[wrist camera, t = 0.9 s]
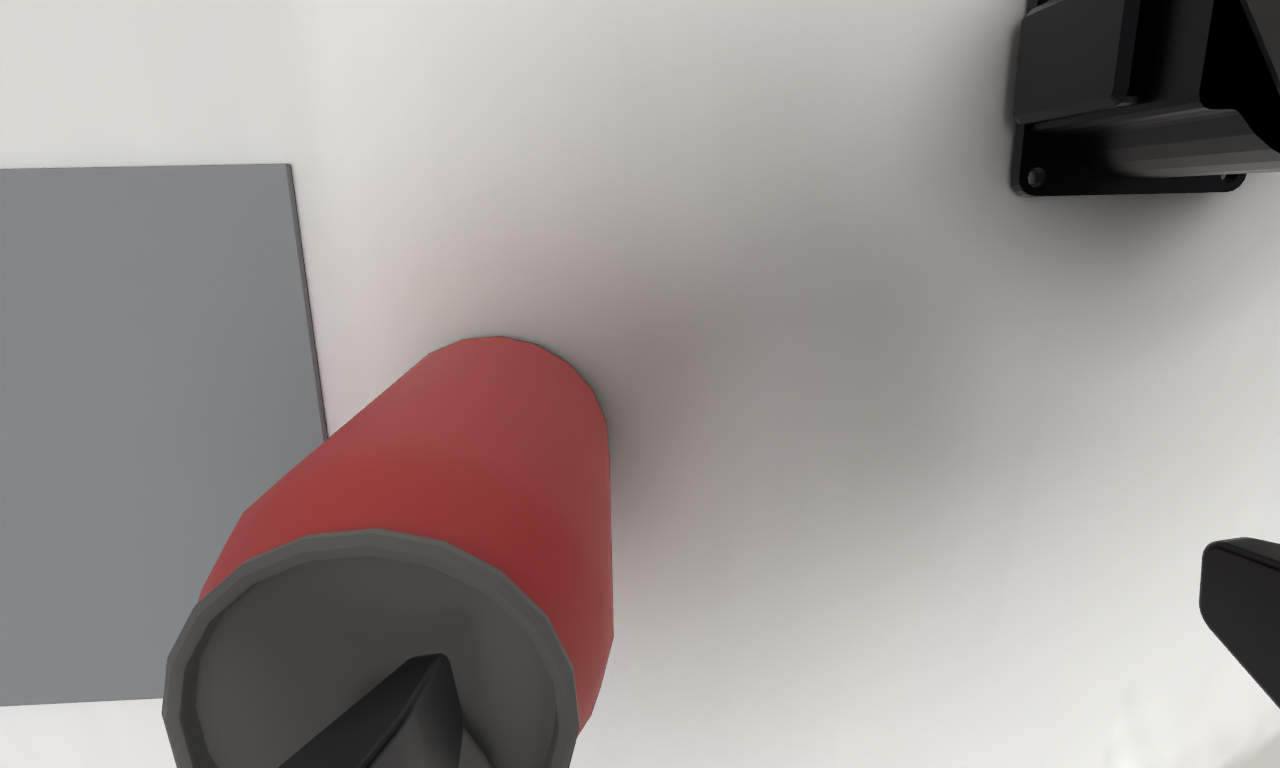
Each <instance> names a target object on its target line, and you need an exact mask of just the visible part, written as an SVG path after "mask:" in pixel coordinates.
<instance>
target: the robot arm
mask: <svg viewBox="0 0 1280 768" xmlns="http://www.w3.org/2000/svg"><path fill="white" fill-rule="evenodd" d="M1013 116H1014V118H1015V120H1016V121H1017V124H1016V134H1015V143H1014V153H1013V163H1012V173H1011V185H1012V187H1013V189H1014V191H1015V192H1016V193H1018V194H1019V195H1021V196H1069V195H1115V194H1161V193H1206V192H1229V191H1233V190H1235V189H1236V188H1238V187H1239V186H1240V185H1241V184H1242V183H1243V181H1244V180H1245V177H1246V174H1247V173H1261V172H1280V0H1029V6H1028V14H1027V15H1026V16H1025V17H1024V18H1023V20H1022V27H1021V37H1020V47H1019V56H1018V66H1017V76H1016V86H1015V96H1014V106H1013ZM1033 169H1034V170H1035V172H1036V173H1037V180H1036V183H1035V184H1034V185H1033V186H1031V185H1030V184H1029V183H1028V175H1029V173H1030V172H1031V171H1032V170H1033ZM1222 174H1226V176H1225V178H1224V179H1223V180H1222V179H1221V175H1222ZM1199 607H1200V612H1201V615H1202V617H1203V619H1204V621H1205V623H1206V624H1207V626H1208V627H1209V628H1210V630H1211V631H1212V632H1213V633H1214V634H1215V635H1216V636H1217V638H1218V639H1219V640H1220V641H1221V642H1222V643H1223V644H1224V646H1225V647H1226V648H1227V649H1228V650H1229V651H1230V652H1231V654H1232V655H1233V656H1234V657H1235V658H1236V659H1237V660H1238V662H1239V663H1240V664H1241V665H1242V666H1243V667H1244V668H1245V670H1246V671H1247V672H1248V673H1249V674H1250V675H1251V676H1252V678H1253V679H1254V680H1255V681H1256V682H1257V683H1258V684H1259V686H1260V687H1261V688H1262V689H1263V690H1264V691H1265V692H1266V694H1267V695H1268V696H1269V697H1270V698H1271V699H1272V700H1273V702H1274V703H1275V704H1276V705H1277V706H1278V707H1279V708H1280V544H1277V543H1273V542H1268V541H1264V540H1259V539H1254V538H1248V537H1241V538H1234V539H1227V540H1220V541H1215V542H1211V543H1210V544H1209V545H1207V546H1206V548H1205V549H1204V551H1203V555H1202V567H1201V581H1200V595H1199ZM462 737H463V714H462V709H461V704H460V700H459V696H458V692H457V688H456V684H455V680H454V675H453V671H452V667H451V664H450V661H449V659H448V657H447V656H446V655H445V654H443V653H436V654H429V655H422V656H415V657H412V658H410V659H408V660H407V661H406V662H404V663H403V664H402V665H401V666H400V667H398V668H397V669H396V670H395V671H393V672H392V673H391V674H390V675H389V676H387V677H386V678H385V679H384V680H383V681H381V682H380V683H379V684H378V685H377V686H375V687H374V688H373V689H372V690H371V691H369V692H368V693H367V694H366V695H365V696H363V697H362V698H361V699H360V700H359V701H357V702H356V703H355V704H354V705H353V706H351V707H350V708H349V709H348V710H347V711H345V712H344V713H343V714H342V715H341V716H339V717H338V718H337V719H336V720H335V721H333V722H332V723H331V724H330V725H329V726H327V727H326V728H325V729H324V730H323V731H321V732H320V733H319V734H318V735H317V736H315V737H314V738H313V739H312V740H310V741H309V742H308V743H307V744H306V745H304V746H303V747H302V748H301V749H300V750H298V751H297V752H296V753H295V754H294V755H292V756H291V757H290V758H289V759H288V760H286V761H285V762H284V763H283V764H282V765H280V766H279V767H278V768H459V760H460V752H461V745H462Z"/></svg>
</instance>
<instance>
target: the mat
mask: <svg viewBox="0 0 1280 768" xmlns="http://www.w3.org/2000/svg"><path fill="white" fill-rule="evenodd" d="M326 440H327V432H326V424H325V417H324V410H323V402H322V395H321V387H320V380H319V373H318V365H317V358H316V351H315V343H314V336H313V328H312V321H311V314H310V306H309V299H308V292H307V284H306V277H305V269H304V262H303V255H302V247H301V240H300V233H299V225H298V218H297V210H296V203H295V196H294V188H293V181H292V174H291V166H290V164H250V165H197V166H145V167H92V168H40V169H0V706H18V705H38V704H57V703H77V702H97V701H117V700H137V699H156V698H163V695H164V685H165V675H166V664H167V657H168V655H169V653H170V651H171V650H172V648H173V646H174V644H175V642H176V640H177V638H178V636H179V634H180V632H181V630H182V629H183V627H184V625H185V623H186V621H187V619H188V617H189V615H190V613H191V611H192V610H193V608H194V606H195V605H196V604H197V603H198V600H199V596H200V593H201V590H202V588H203V586H204V584H205V582H206V580H207V578H208V576H209V575H210V573H211V571H212V569H213V567H214V565H215V563H216V561H217V559H218V557H219V556H220V554H221V552H222V550H223V548H224V546H225V544H226V542H227V540H228V538H229V537H230V535H231V533H232V531H233V530H234V528H235V526H236V524H237V522H238V521H239V519H240V517H241V515H242V514H243V512H244V511H245V510H247V509H248V508H249V507H250V506H251V505H252V504H253V503H254V502H255V501H257V500H258V499H259V498H260V497H261V496H262V495H263V494H264V493H266V492H267V491H268V490H269V489H270V488H271V487H272V486H273V485H275V484H276V483H277V482H278V481H279V480H280V479H281V478H282V477H284V476H285V475H286V474H287V473H288V472H289V471H290V470H292V469H293V468H294V467H295V466H296V465H297V464H299V463H300V462H301V461H302V460H303V459H305V458H306V457H307V456H308V455H309V454H311V453H312V452H313V451H314V450H315V449H316V448H318V447H319V446H320V445H321V444H322V443H324V442H325V441H326Z"/></svg>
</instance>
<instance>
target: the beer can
mask: <svg viewBox="0 0 1280 768" xmlns="http://www.w3.org/2000/svg"><path fill="white" fill-rule="evenodd" d="M613 638H614V627H613V585H612V542H611V500H610V457H609V445H608V434H607V424H606V420H605V417H604V415H603V413H602V411H601V408H600V406H599V404H598V402H597V399H596V397H595V395H594V393H593V390H592V389H591V388H590V387H589V386H588V385H587V383H586V382H585V381H584V380H583V379H582V378H581V377H580V376H579V375H578V374H577V372H576V371H575V370H574V369H573V368H572V367H571V366H570V365H569V364H568V363H567V362H565V361H564V360H562V359H560V358H558V357H557V356H555V355H553V354H551V353H550V352H548V351H546V350H544V349H543V348H541V347H539V346H538V345H536V344H531V343H527V342H522V341H518V340H513V339H509V338H504V337H500V336H499V337H487V338H476V339H464V340H460V341H458V342H456V343H453V344H451V345H449V346H446V347H444V348H442V349H439V350H437V351H434V352H432V353H430V354H428V355H427V356H426V357H425V358H423V359H422V360H421V361H420V362H419V363H417V364H416V365H415V366H414V367H413V368H411V369H410V370H409V371H408V372H407V373H406V374H404V375H403V376H402V377H401V378H400V379H398V380H397V381H396V382H395V383H394V384H392V385H391V386H390V387H389V388H388V389H387V390H385V391H384V392H383V393H382V394H381V395H379V396H378V397H377V398H376V399H375V400H373V401H372V402H371V403H370V404H369V405H368V406H366V407H365V408H364V409H363V410H362V411H360V412H359V413H358V414H357V415H356V416H354V417H353V418H352V419H351V420H350V421H349V422H347V423H346V424H345V425H344V426H343V427H341V428H340V429H339V430H338V431H337V432H335V433H334V434H333V435H332V436H331V437H330V438H328V439H327V440H326V441H325V442H324V443H322V444H321V445H320V446H319V447H318V448H316V449H315V450H314V451H313V452H312V453H311V454H309V455H308V456H307V457H306V458H305V459H303V460H302V461H301V462H300V463H299V464H297V465H296V466H295V467H294V468H293V469H292V470H290V471H289V472H288V473H287V474H286V475H285V476H284V477H282V478H281V479H280V480H279V481H278V482H277V483H276V484H275V485H273V486H272V487H271V488H270V489H269V490H268V491H267V492H266V493H264V494H263V495H262V496H261V497H260V498H259V499H258V500H257V501H255V502H254V503H253V504H252V505H251V506H250V507H249V508H248V509H247V510H245V511H244V512H243V514H242V515H241V517H240V519H239V521H238V522H237V524H236V526H235V528H234V530H233V531H232V533H231V535H230V537H229V538H228V540H227V542H226V544H225V546H224V548H223V550H222V552H221V554H220V556H219V557H218V559H217V561H216V563H215V565H214V567H213V569H212V571H211V573H210V575H209V576H208V578H207V580H206V582H205V584H204V586H203V588H202V590H201V593H200V596H199V600H198V603H197V604H196V605H195V606H194V608H193V610H192V611H191V613H190V615H189V617H188V619H187V621H186V623H185V625H184V627H183V629H182V630H181V632H180V634H179V636H178V638H177V640H176V642H175V644H174V646H173V648H172V650H171V651H170V653H169V655H168V657H167V664H166V675H165V685H164V695H163V705H162V717H163V720H164V724H165V727H166V731H167V734H168V738H169V741H170V745H171V748H172V752H173V755H174V759H175V762H176V766H177V768H278V767H279V766H280V765H282V764H283V763H284V762H285V761H286V760H288V759H289V758H290V757H291V756H292V755H294V754H295V753H296V752H297V751H298V750H300V749H301V748H302V747H303V746H304V745H306V744H307V743H308V742H309V741H310V740H312V739H313V738H314V737H315V736H317V735H318V734H319V733H320V732H321V731H323V730H324V729H325V728H326V727H327V726H329V725H330V724H331V723H332V722H333V721H335V720H336V719H337V718H338V717H339V716H341V715H342V714H343V713H344V712H345V711H347V710H348V709H349V708H350V707H351V706H353V705H354V704H355V703H356V702H357V701H359V700H360V699H361V698H362V697H363V696H365V695H366V694H367V693H368V692H369V691H371V690H372V689H373V688H374V687H375V686H377V685H378V684H379V683H380V682H381V681H383V680H384V679H385V678H386V677H387V676H389V675H390V674H391V673H392V672H393V671H395V670H396V669H397V668H398V667H400V666H401V665H402V664H403V663H404V662H406V661H407V660H408V659H410V658H412V657H415V656H422V655H429V654H436V653H443V654H445V655H446V656H447V657H448V659H449V661H450V664H451V667H452V671H453V675H454V680H455V684H456V688H457V692H458V696H459V700H460V704H461V709H462V714H463V737H462V745H461V752H460V760H459V768H569V766H570V762H571V758H572V754H573V750H574V746H575V742H576V739H577V737H578V735H579V734H580V732H581V730H582V729H583V727H584V726H585V724H586V722H587V721H588V719H589V718H590V716H591V714H592V711H593V708H594V705H595V703H596V700H597V697H598V694H599V691H600V688H601V684H602V680H603V676H604V672H605V669H606V665H607V661H608V657H609V653H610V649H611V646H612V642H613Z"/></svg>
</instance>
